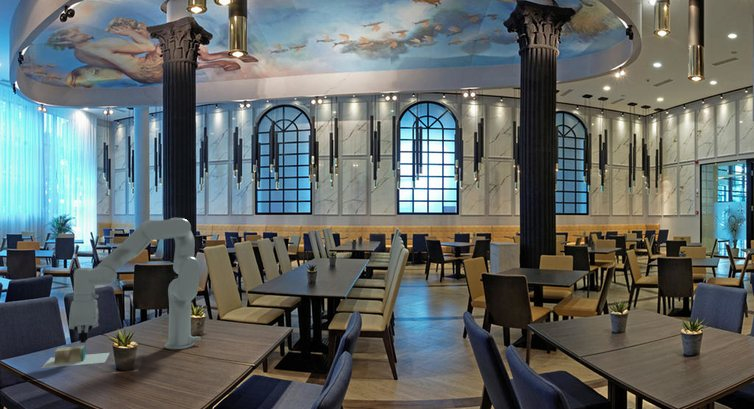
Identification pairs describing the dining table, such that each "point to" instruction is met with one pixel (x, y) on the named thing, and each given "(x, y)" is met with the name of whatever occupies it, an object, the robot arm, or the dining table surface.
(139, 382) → the dining table surface
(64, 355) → the oak block
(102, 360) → the grey mat
